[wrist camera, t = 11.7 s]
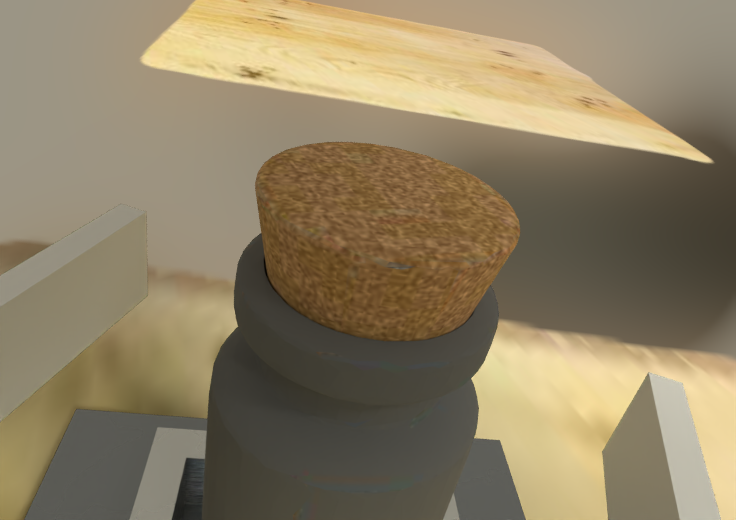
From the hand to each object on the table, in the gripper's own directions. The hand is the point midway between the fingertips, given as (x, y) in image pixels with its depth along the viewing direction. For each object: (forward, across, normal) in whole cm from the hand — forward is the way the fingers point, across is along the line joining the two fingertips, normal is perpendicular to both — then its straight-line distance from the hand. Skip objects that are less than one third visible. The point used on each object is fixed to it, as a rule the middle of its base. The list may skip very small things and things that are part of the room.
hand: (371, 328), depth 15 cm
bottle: (-2, 0, -10) cm, 11 cm away
